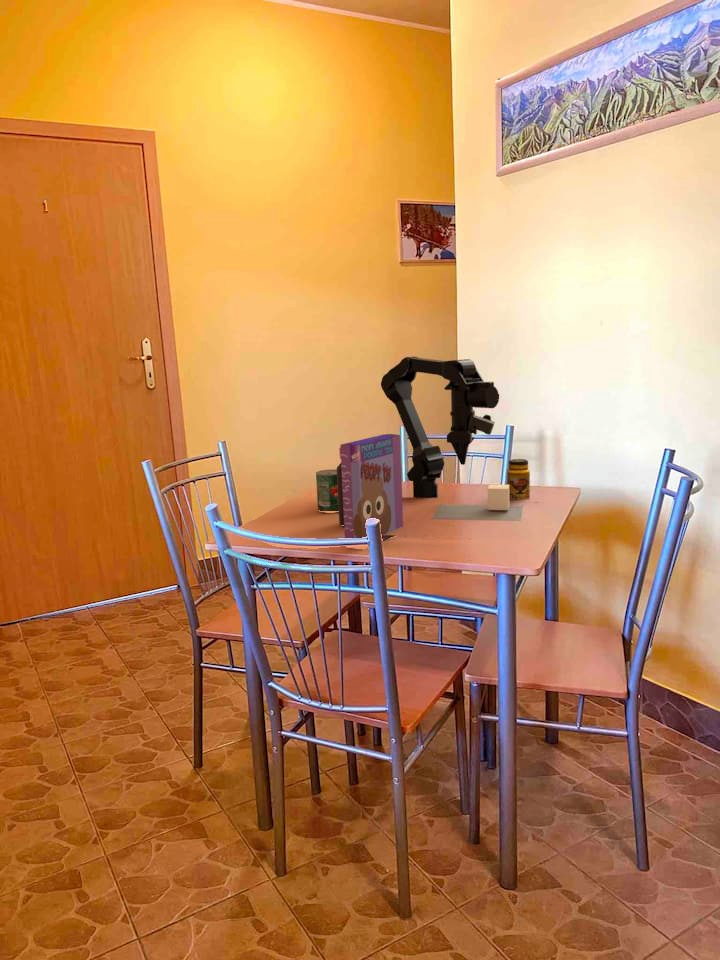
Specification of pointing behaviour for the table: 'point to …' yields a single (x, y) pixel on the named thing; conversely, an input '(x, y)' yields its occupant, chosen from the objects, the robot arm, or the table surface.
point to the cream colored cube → (498, 497)
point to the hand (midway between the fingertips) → (462, 464)
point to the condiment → (518, 479)
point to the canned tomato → (327, 490)
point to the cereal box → (372, 484)
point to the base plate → (477, 512)
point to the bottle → (340, 492)
